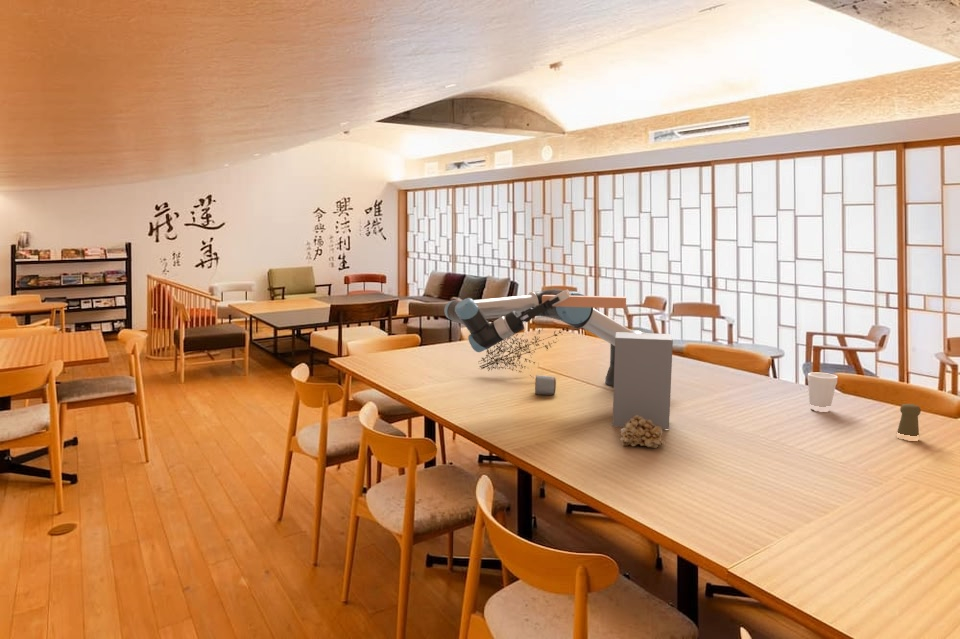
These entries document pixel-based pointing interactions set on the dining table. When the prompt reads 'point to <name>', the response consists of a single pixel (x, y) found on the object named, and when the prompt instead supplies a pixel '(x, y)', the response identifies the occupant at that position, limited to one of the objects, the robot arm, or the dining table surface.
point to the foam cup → (821, 388)
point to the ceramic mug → (545, 385)
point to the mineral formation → (641, 433)
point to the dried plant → (512, 352)
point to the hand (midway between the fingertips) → (568, 293)
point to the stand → (642, 378)
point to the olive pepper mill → (909, 420)
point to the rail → (590, 301)
